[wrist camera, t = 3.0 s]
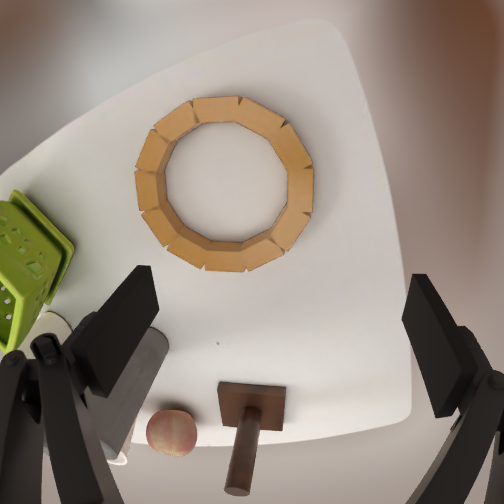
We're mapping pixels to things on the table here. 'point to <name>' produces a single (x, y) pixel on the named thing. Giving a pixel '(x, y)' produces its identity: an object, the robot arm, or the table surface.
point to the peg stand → (248, 426)
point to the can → (46, 331)
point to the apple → (172, 432)
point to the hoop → (190, 242)
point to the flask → (126, 394)
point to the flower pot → (27, 266)
